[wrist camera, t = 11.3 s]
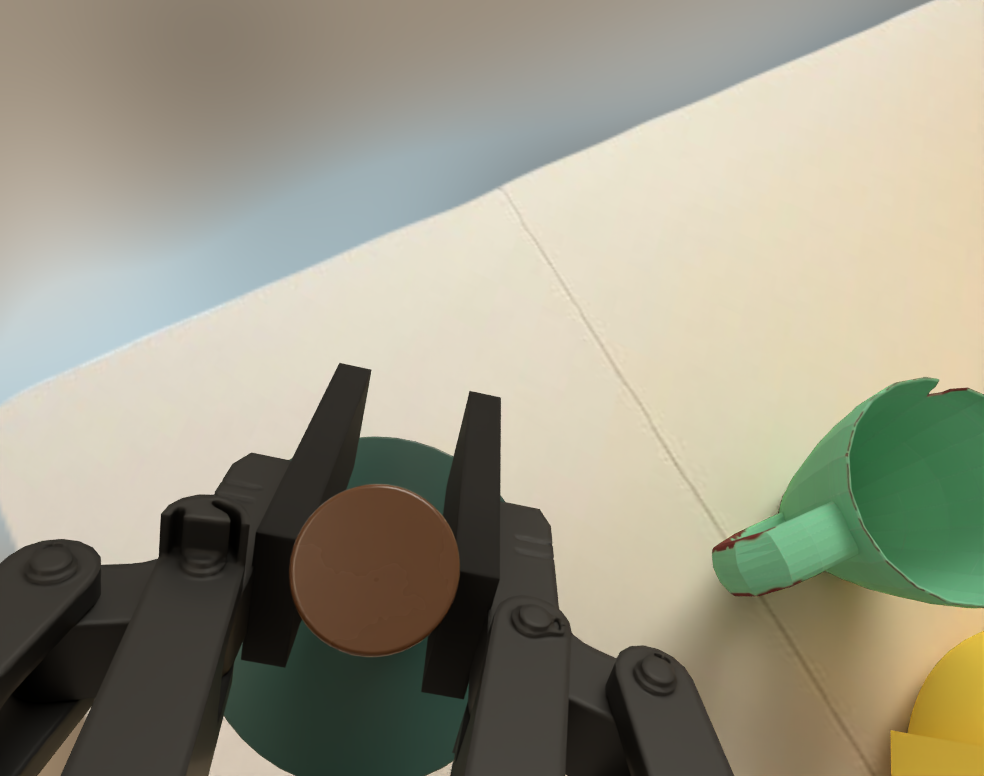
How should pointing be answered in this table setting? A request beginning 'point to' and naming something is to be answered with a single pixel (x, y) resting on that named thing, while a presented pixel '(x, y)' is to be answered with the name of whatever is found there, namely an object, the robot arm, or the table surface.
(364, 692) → the ring toss peg stand
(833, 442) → the mug
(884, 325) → the table surface
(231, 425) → the table surface
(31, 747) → the robot arm
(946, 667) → the teapot
